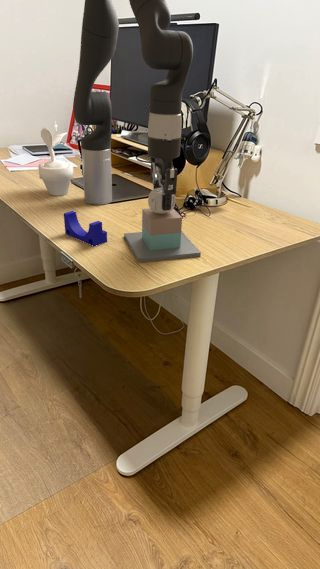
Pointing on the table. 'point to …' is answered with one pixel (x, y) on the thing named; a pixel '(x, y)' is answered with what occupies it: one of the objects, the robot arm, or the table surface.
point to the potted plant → (55, 166)
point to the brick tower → (160, 238)
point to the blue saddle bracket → (76, 231)
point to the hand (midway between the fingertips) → (161, 204)
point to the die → (158, 201)
